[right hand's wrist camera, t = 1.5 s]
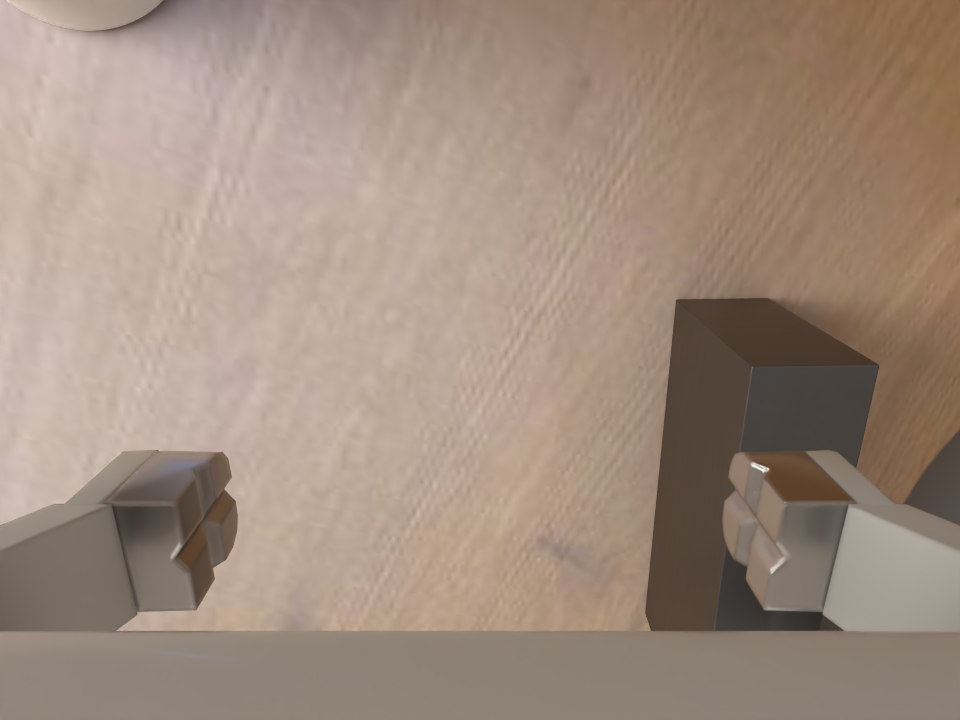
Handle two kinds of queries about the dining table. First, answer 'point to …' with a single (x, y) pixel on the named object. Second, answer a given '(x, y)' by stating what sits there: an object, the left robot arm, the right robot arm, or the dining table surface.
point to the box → (740, 447)
